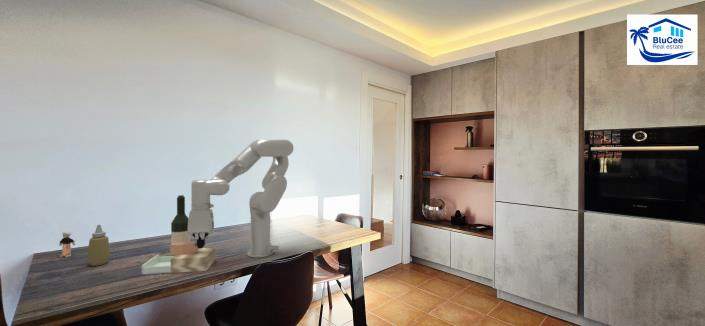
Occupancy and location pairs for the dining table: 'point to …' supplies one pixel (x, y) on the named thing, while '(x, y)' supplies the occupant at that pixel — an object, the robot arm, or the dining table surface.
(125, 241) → the dining table surface
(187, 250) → the block
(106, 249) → the squeeze bottle
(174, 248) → the block
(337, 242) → the dining table surface
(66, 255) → the grandmother figurine
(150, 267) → the tray
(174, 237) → the wine bottle
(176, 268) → the plate
